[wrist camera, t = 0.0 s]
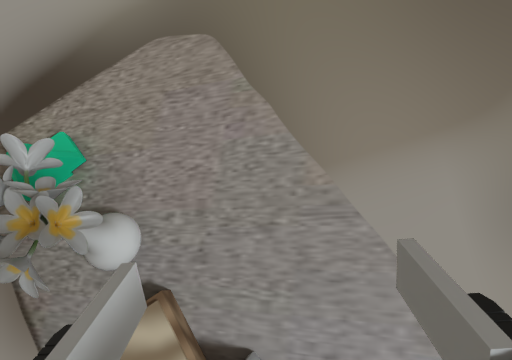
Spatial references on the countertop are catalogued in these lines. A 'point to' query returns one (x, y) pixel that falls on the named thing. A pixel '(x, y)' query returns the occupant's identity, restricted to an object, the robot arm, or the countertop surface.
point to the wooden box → (163, 333)
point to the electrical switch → (252, 356)
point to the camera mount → (61, 151)
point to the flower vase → (54, 218)
